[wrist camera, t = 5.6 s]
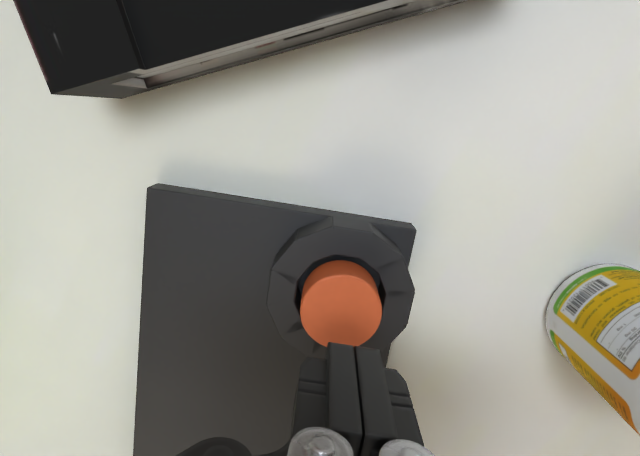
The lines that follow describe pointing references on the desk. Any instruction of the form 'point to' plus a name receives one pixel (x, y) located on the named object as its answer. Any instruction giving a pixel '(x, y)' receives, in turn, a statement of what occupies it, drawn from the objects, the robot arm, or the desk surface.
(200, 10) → the book
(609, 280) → the supplement bottle
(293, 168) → the desk surface
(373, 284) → the button
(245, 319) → the scale
